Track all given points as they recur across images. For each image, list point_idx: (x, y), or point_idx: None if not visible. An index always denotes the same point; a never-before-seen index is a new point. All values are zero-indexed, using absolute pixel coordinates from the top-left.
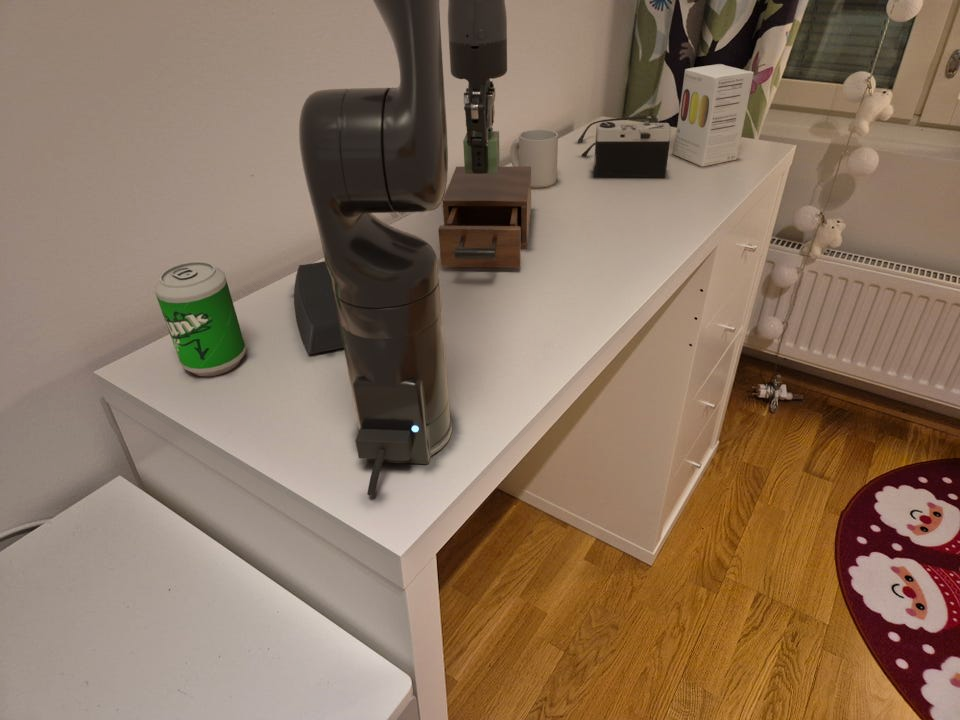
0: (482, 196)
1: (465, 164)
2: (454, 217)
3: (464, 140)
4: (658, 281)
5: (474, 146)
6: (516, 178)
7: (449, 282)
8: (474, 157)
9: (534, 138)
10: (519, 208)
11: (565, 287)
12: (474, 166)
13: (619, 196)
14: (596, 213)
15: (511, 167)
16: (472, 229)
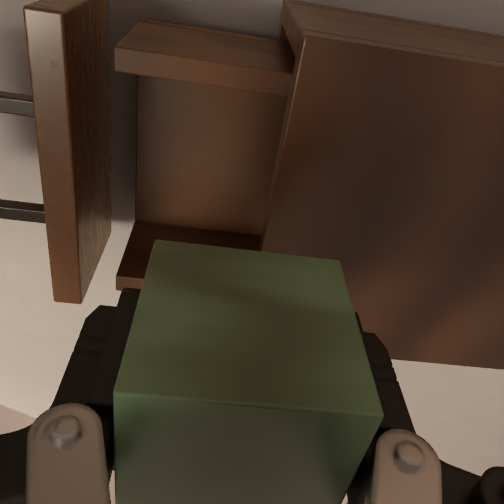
0: (317, 216)
1: (145, 277)
2: (194, 82)
3: (124, 400)
4: None
5: (19, 436)
6: (471, 332)
7: (12, 12)
8: (70, 366)
9: None
10: None
11: (31, 302)
12: (85, 323)
13: (493, 438)
14: (417, 394)
15: None
16: (39, 157)
